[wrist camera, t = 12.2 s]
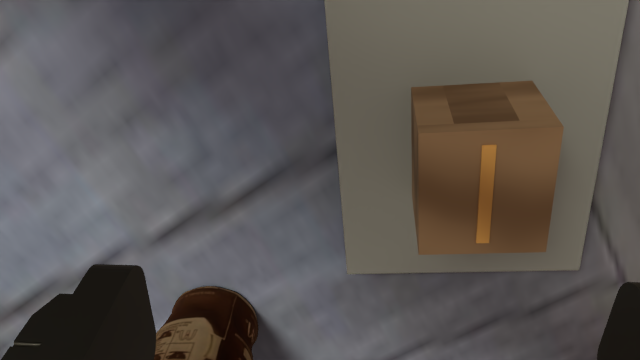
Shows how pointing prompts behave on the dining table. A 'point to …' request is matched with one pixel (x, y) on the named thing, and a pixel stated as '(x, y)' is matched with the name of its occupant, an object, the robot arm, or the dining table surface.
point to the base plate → (455, 69)
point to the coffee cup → (208, 327)
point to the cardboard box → (483, 167)
